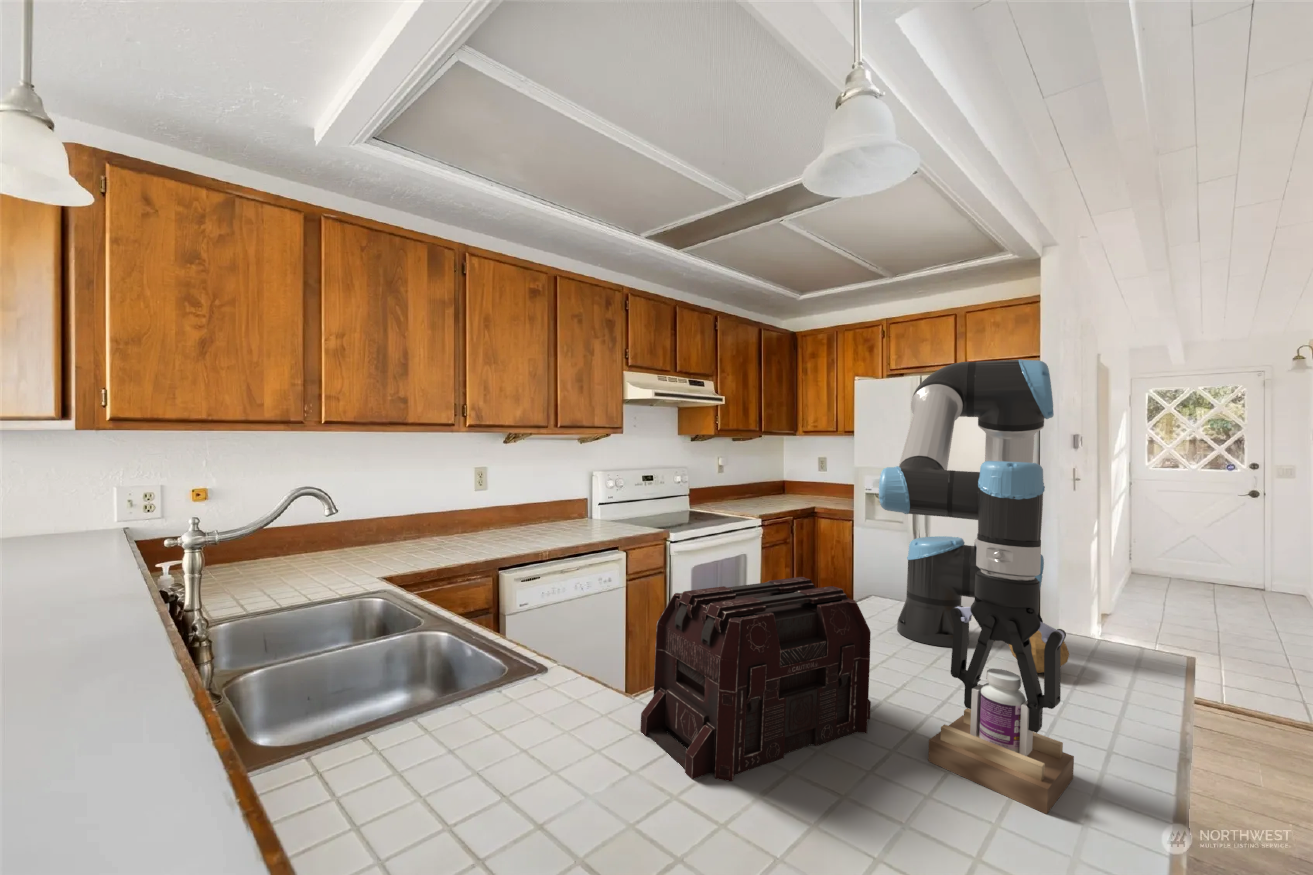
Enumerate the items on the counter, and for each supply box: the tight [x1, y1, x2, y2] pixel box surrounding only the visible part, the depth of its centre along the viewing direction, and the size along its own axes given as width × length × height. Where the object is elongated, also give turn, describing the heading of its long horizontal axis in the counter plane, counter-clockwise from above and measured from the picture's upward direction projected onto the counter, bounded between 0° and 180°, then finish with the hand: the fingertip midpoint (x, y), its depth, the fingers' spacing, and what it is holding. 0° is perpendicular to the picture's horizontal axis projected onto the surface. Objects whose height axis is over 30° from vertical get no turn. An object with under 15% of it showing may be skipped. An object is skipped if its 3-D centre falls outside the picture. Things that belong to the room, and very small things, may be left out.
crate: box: [639, 576, 872, 782], centre depth 87 cm, size 35×19×21 cm, turn 122°
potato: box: [1008, 631, 1070, 674], centre depth 114 cm, size 10×14×8 cm
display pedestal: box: [927, 708, 1075, 815], centre depth 77 cm, size 14×12×5 cm
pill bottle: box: [979, 668, 1027, 753], centre depth 77 cm, size 5×5×10 cm
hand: (1000, 742), depth 77 cm, fingers closed on pill bottle, 5 cm apart
